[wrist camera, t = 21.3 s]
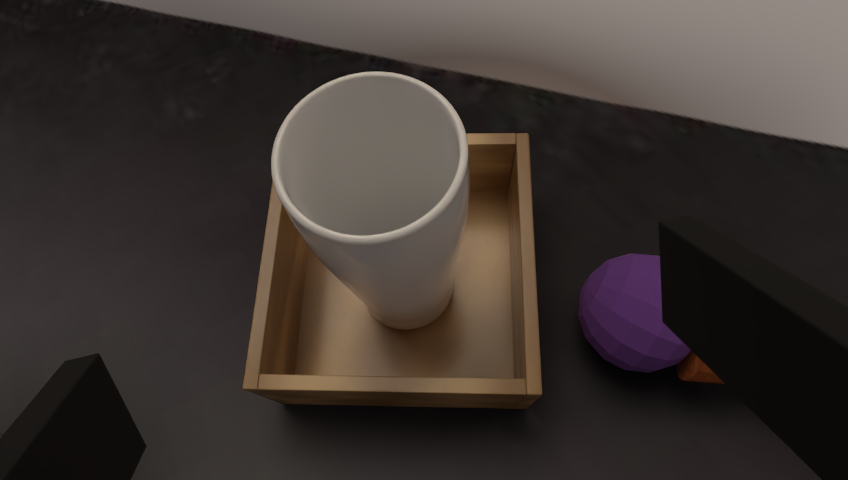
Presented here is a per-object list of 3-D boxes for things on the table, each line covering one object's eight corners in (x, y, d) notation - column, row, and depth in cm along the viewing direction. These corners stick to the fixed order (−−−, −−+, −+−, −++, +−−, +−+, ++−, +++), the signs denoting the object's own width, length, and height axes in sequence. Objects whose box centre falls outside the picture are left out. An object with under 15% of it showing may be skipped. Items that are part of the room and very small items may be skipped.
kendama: (1023, 571, 23) (569, 334, 26) (910, 525, 28) (551, 336, 32) (1072, 436, 23) (625, 222, 27) (951, 418, 29) (597, 244, 32)
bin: (281, 403, 31) (241, 389, 25) (307, 187, 36) (278, 135, 30) (526, 409, 30) (542, 395, 24) (517, 186, 35) (529, 132, 29)
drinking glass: (489, 304, 32) (512, 176, 18) (386, 368, 31) (324, 285, 17) (427, 213, 34) (404, 37, 20) (329, 269, 33) (234, 126, 19)
